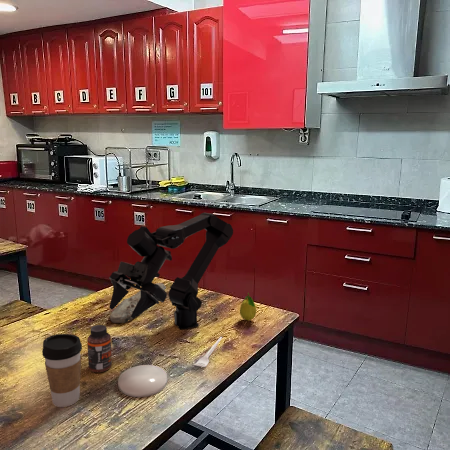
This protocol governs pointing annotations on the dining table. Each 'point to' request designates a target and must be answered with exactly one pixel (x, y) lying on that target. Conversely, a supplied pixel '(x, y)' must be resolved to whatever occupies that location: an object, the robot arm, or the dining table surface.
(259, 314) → the dining table surface
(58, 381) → the coffee cup
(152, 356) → the dining table surface
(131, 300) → the elongated rock
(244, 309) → the lemon
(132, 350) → the dining table surface
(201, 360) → the fork
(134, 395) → the beige flattened disc
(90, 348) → the supplement bottle
